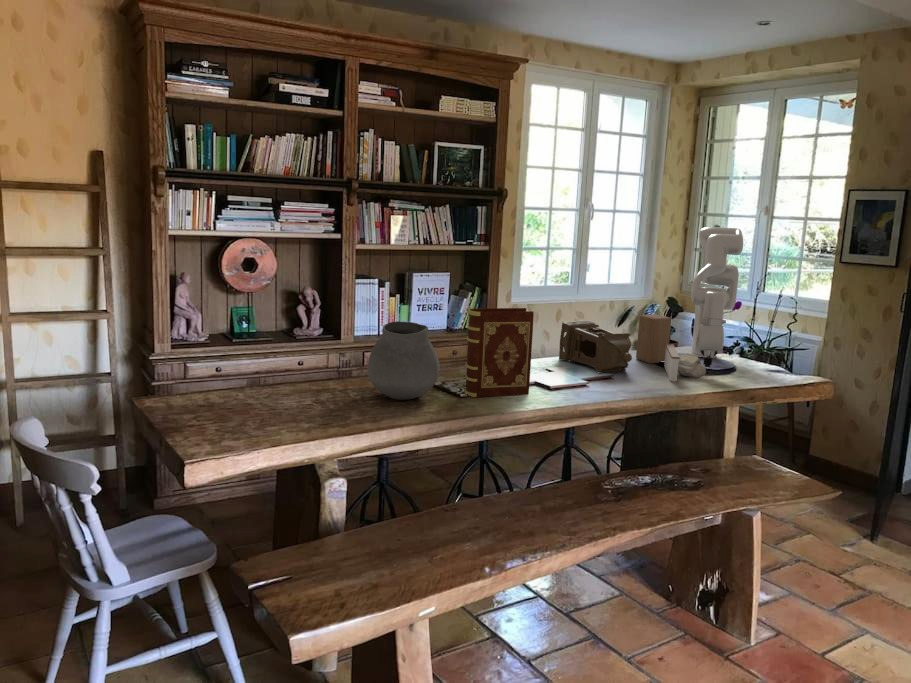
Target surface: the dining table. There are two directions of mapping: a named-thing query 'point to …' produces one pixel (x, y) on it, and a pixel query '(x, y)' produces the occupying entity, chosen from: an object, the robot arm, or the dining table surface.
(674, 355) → the grey board
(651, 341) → the wooden block
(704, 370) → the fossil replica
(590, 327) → the brown machine part
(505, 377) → the decorative book
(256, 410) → the dining table surface
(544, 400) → the dining table surface
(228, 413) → the dining table surface
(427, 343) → the ceramic pot
